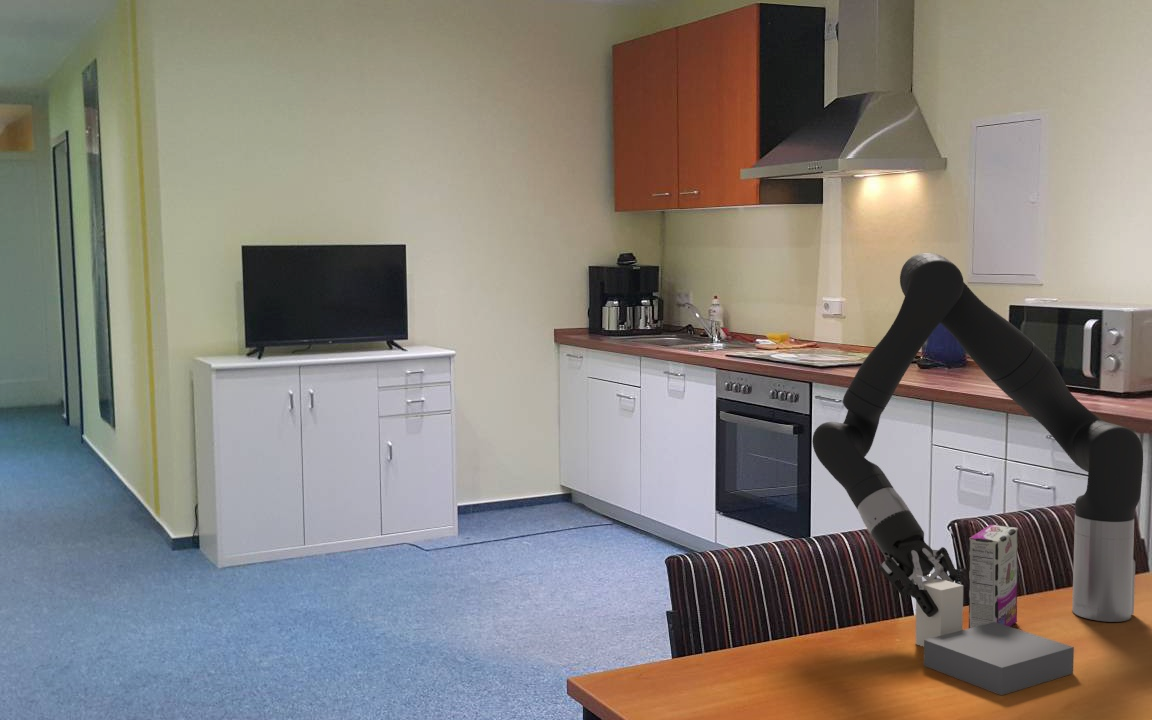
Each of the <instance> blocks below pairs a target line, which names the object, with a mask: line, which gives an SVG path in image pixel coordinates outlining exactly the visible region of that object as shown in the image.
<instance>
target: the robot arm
mask: <svg viewBox="0 0 1152 720" xmlns="http://www.w3.org/2000/svg"><path fill="white" fill-rule="evenodd" d="M899 284H900V288H901V292H902V293H903V295H904V297H903V300H902V304H901V306H900V308H899V311H898V313H897V315H896V317H895V319H894V321H893V322H892V324H891V326H890V327H889V329H888V331H887V332H886V334H885V335H884V336H883V337H882V338H881V340H880V341H879V342H878V343H877V344H876V345H875V346H874V348H873V349H872V350H871V351H870V352H869V354H868V356H866V358H865V359H864V361H863V362H862V363H861V365H860V366H859V369H858V370H857V372H856V374H855V375H854V377H853V379H852V381H851V383H850V384H849V385H848V388H847V390H846V392H845V393H844V395H843V399H842V403H843V406H844V407H845V409H846V410H847V412H846V416H845V418H844V420H843V422H839V421H838V422H837V421H827V422H823V423H821V424H820V425H818V426H817V427H816V428H815V430H814V432H813V434H812V441H811V442H812V447H813V450H814V451H813V452H814V453H815V455H816V457H817V459H818V461H819V462H820V463H821V465H823V467H824V469H826V470H827V471H828V473H829V474H830V475H831V476H832V477H833V478H834V479H835V480H836V481H837V482H838V483H839V484H840V485H841V486H842V487H843V488H844V490H845V491H846V493H847V495H848V496H849V499H850V500H851V502H852V504H853V505H854V506H855V508H856V510H857V511H858V513H859V515H860V518H861V520H862V522H863V524H864V525H865V527H866V529H867V530H868V532H869V534H870V535H871V537H872V539H873V540H874V542H875V544H876V545H877V547H878V548H879V551H880V552H881V553H882V555H883V556H885V557H886V559H885V560H884V561H883V562H882V563H881V564H880V565H879V570H880V572H881V573H882V574H883V575H884V577H885V578H886V579H887V580H888V581H889V583H891V584H892V586H893V587H894V588H895V589H896V591H897V592H898V593H899V594H900V595H901V596H902V597H906V596H910V597H911V598H913V599H914V600H915V602H916V601H917V602H918V604H919V606H920V607H921V609H922V610H923V612H924V613H925V614H926V615H927V616H928V617H932V616H934V615H935V614H936V613H937V612H938V607H937V606H936V604H935V603H934V601H933V599H932V598H931V596H930V595H929V593H928V592H927V590H924V589H925V587H924V584H923V578H924V579H925V581H927V580H932V579H936V578H940V579H942V580H946V581H950V582H953V583H955V581H956V580H958V579H959V575H958V573H957V569H956V567H955V566H954V564H953V561H952V559H951V556H950V554H949V552H948V550H947V548H945V547H943V546H942V547H940V548H939V549H932V547H931V546H929V545H928V544H927V543H926V542H925V531H924V530H923V529H922V527H921V525H920V524H919V522H918V520H917V519H916V518H915V516H914V515H913V513H912V511H911V510H910V508H909V507H908V505H907V504H906V502H905V501H904V500H903V498H902V497H901V496H900V495H899V493H898V492H897V491H896V489H895V488H894V486H893V485H892V483H891V481H889V479H888V477H887V475H886V474H885V473H884V471H883V470H882V468H881V467H880V466H879V465H877V464H875V463H874V462H871V461H870V460H868V459H867V458H866V456H867V454H869V452H870V450H871V448H872V446H873V443H874V440H875V436H876V433H877V431H878V427H879V423H880V420H881V415H882V414H883V412H884V410H885V409H886V407H887V406H888V403H889V402H890V400H891V399H892V397H893V395H894V393H895V392H896V389H897V387H898V386H899V385H900V382H901V380H902V379H903V378H904V375H905V374H906V372H907V371H908V369H909V367H910V365H911V364H912V362H913V361H914V359H915V358H916V356H917V354H918V353H919V352H920V350H921V349H922V347H923V346H924V344H925V343H926V342H927V341H928V339H929V338H930V336H931V335H932V333H933V332H934V331H935V329H937V327H938V326H939V325H942V326H943V327H944V328H945V329H946V330H948V332H949V333H950V334H951V335H952V336H953V337H954V338H955V340H956V341H957V343H959V345H960V346H961V347H962V348H963V350H964V351H965V352H966V353H967V355H968V356H969V357H970V359H971V360H973V361H974V363H975V365H977V366H978V367H979V369H980V370H981V371H982V372H983V373H984V374H985V375H986V376H987V377H988V378H989V379H990V380H991V381H992V382H993V384H995V385H996V386H997V387H998V388H999V389H1000V390H1001V391H1002V392H1003V393H1004V394H1006V396H1008V398H1010V399H1011V400H1012V401H1014V403H1015V404H1017V405H1018V406H1019V407H1021V409H1023V411H1025V412H1026V413H1027V414H1029V416H1031V417H1032V418H1033V419H1034V420H1036V421H1037V422H1038V423H1040V425H1041V426H1043V427H1044V429H1046V431H1047V432H1048V433H1049V435H1051V436H1052V438H1053V439H1054V440H1055V441H1056V442H1057V443H1058V445H1059V446H1060V448H1062V450H1063V451H1064V452H1065V453H1066V455H1067V456H1068V457H1069V458H1070V460H1072V462H1074V464H1075V465H1076V466H1077V467H1078V468H1080V469H1081V470H1082V471H1085V472H1086V473H1087V485H1086V491H1085V492H1084V494H1082V495H1080V496H1078V497H1077V498H1076V499H1075V503H1074V535H1073V537H1074V538H1073V540H1074V541H1073V543H1074V544H1073V570H1072V571H1073V573H1072V574H1073V575H1072V577H1073V578H1072V612H1073V614H1075V615H1076V616H1078V617H1081V618H1084V619H1088V620H1093V621H1097V622H1109V623H1114V622H1115V623H1117V622H1118V623H1119V622H1126V621H1128V620H1130V619H1132V615H1134V614H1135V612H1134V611H1135V587H1136V581H1135V579H1136V560H1135V559H1134V543H1135V542H1134V540H1135V539H1134V538H1135V535H1134V533H1135V515H1136V514H1135V512H1136V511H1135V510H1136V509H1137V506H1138V504H1139V502H1140V499H1141V493H1142V481H1143V471H1144V468H1143V467H1144V449H1143V444H1142V441H1141V439H1140V437H1139V436H1138V435H1137V433H1136V432H1134V430H1132V429H1130V428H1128V427H1126V426H1123V425H1119V424H1115V423H1112V422H1107V421H1105V420H1103V419H1102V418H1100V417H1098V416H1097V415H1096V414H1094V413H1093V412H1092V411H1091V410H1089V409H1088V408H1087V407H1086V406H1085V405H1083V403H1081V402H1080V401H1079V400H1078V399H1077V398H1076V397H1075V396H1074V395H1073V394H1072V393H1071V391H1070V389H1068V385H1066V382H1065V381H1064V379H1063V377H1062V375H1061V373H1060V371H1059V369H1058V368H1057V366H1056V365H1055V363H1054V362H1053V361H1052V360H1051V358H1050V357H1049V356H1048V355H1047V354H1046V353H1045V352H1044V351H1043V350H1042V349H1041V348H1040V347H1039V346H1037V345H1036V343H1034V342H1033V341H1032V340H1031V338H1029V337H1028V336H1027V335H1026V334H1025V333H1024V332H1022V331H1021V330H1020V329H1019V328H1018V327H1016V326H1015V325H1014V324H1012V323H1011V322H1010V321H1009V320H1007V319H1006V318H1004V317H1003V316H1002V315H1000V314H999V313H998V312H996V311H994V309H992V308H991V307H989V306H988V305H986V304H985V302H983V301H982V300H981V299H980V298H979V297H978V296H977V295H976V294H975V293H974V292H973V290H971V288H969V286H968V285H967V283H965V282H964V277H963V273H962V272H961V271H960V269H959V268H958V266H957V265H956V264H955V263H953V262H952V261H950V260H949V259H947V258H946V257H944V256H942V255H941V254H938V253H932V252H931V253H929V252H924V253H918V254H915V255H913V256H911V257H910V258H909V259H907V260H906V261H905V263H903V265H902V267H901V269H900V274H899ZM933 570H934V572H933V573H931V572H932V571H933ZM902 583H903V584H904V585H903V584H902Z"/></svg>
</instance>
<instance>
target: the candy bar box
mask: <svg viewBox="0 0 1152 720" xmlns="http://www.w3.org/2000/svg"><path fill="white" fill-rule="evenodd" d="M1018 531H1019V530H1018V527H1013V526H1012V527H1011V526H1007V525H999V524H989V525H988V526H986V527H985V528H983V529H982V530H980V531H979V532H977V533H975V534H973V535H971V537H969V538H968V543H969V544H968V629H969V628H973V627H977V626H981V625H985V624H989V623H993V622H996V623H1000V624H1003V625H1006V626H1009V627H1012V628H1013V626H1014V625H1015V624H1016V623H1017V622H1018V537H1019V536H1018Z"/></svg>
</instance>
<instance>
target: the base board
mask: <svg viewBox="0 0 1152 720" xmlns="http://www.w3.org/2000/svg"><path fill="white" fill-rule="evenodd" d="M1074 654H1075V647H1074V646H1071V645H1069V644H1065V643H1062V642H1058V641H1056V640H1054V639H1050V638H1046V637H1043V636H1040V635H1036V634H1033V633H1030V632H1028V631H1024V630H1021V629H1017V628H1014V627H1013V626H1012V627H1009V626H1006V625H1003V624H1000V623H996V622H993V623H989V624H985V625H981V626H977V627H973V628H969V627H968V628H966V629H962V630H961V631H957V632H953V633H949V634H945V635H941V636H938V637H934V638H930V639H926V640H924V647H923V666H924V667H926V668H929V669H931V670H934V671H936V672H939V673H942V674H943V675H944V674H945V675H946V676H950V677H952V678H955V679H957V680H960V681H962V682H965V683H967V684H971V685H973V686H976V687H978V688H981V689H984V690H986V691H988V692H992V693H994V694H997V695H999V696H1004V695H1008V694H1011V693H1013V692H1018V691H1020V690H1025V689H1027V688H1030V687H1033V686H1037V685H1040V684H1043V683H1046V682H1050V681H1053V680H1056V679H1059V678H1063V677H1066V676H1070V675H1072V674H1074V659H1075V657H1074V656H1075V655H1074Z"/></svg>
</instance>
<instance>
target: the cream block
mask: <svg viewBox="0 0 1152 720" xmlns="http://www.w3.org/2000/svg"><path fill="white" fill-rule="evenodd" d="M923 584H924V587H925V589H924V590H927V592H928V593H929V595H930V596H931V598H932V599H933V601H934V603H935V604H936V606H937V607H938V612H937V613H936V614H935V615H934V616H932V617H928V616H927V615H926V614H925V613H924V612H923V610H922V609H921V607H920V606H919V604H918V602H917V601H916V600H915V645H917V646H919V645H920V647H922V646H923V648H924V640H926V639H930V638H934V637H938V636H941V635H945V634H949V633H953V632H957V631H961V630H964V629H963V628H964V627H963V625H964V624H963V622H964V621H963V619H964V618H963V616H964V613H963V612H964V584H959V583H957V582H950V581H946V580H942V579H941V578H940V577H937V578H936V579H932V580H924V581H923Z"/></svg>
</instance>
